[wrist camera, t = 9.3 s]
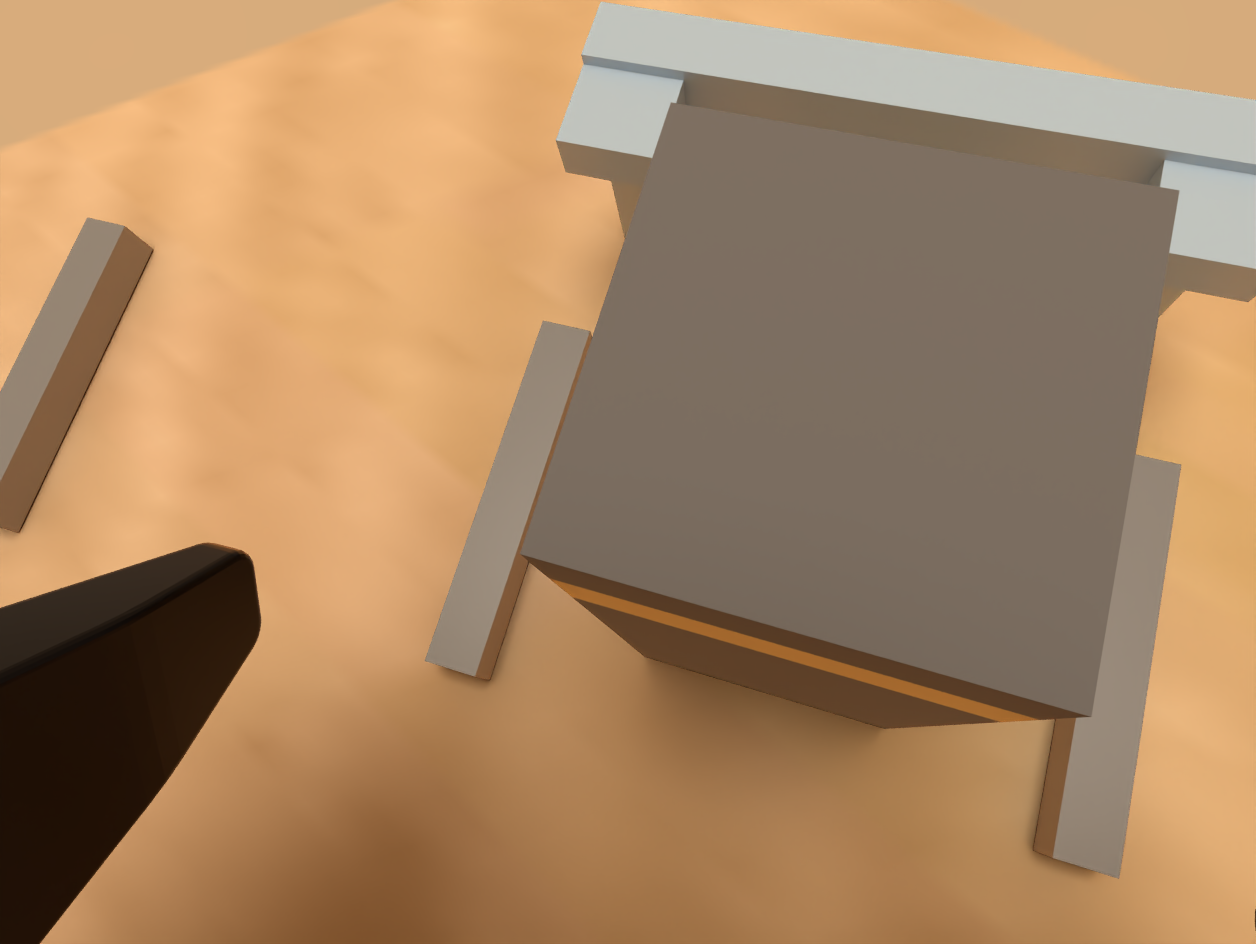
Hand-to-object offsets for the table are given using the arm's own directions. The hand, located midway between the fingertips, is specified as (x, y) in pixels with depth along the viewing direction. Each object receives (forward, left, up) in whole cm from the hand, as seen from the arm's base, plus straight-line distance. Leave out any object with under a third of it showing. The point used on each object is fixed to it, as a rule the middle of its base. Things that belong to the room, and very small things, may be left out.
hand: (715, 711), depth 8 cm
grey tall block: (+3, +1, -9) cm, 10 cm away
